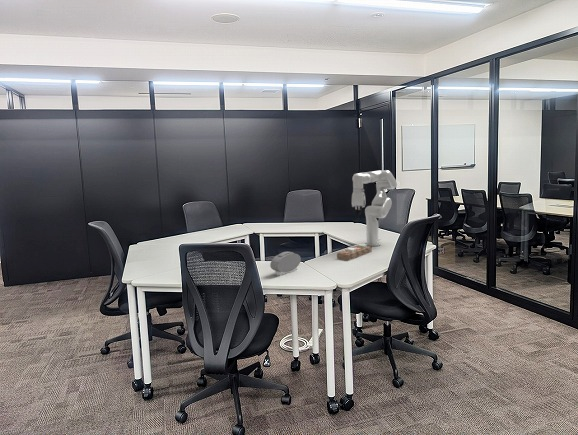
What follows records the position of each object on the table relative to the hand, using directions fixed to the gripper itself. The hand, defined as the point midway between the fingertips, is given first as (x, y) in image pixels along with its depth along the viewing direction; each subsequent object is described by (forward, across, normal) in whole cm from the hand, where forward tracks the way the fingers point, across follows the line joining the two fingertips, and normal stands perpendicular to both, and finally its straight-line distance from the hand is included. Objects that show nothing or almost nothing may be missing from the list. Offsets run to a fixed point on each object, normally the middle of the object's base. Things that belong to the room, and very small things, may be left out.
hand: (358, 214), depth 325 cm
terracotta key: (+26, -7, +15) cm, 31 cm away
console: (+27, -7, +18) cm, 33 cm away
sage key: (+25, -7, +7) cm, 27 cm away
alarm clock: (+27, +6, +81) cm, 86 cm away
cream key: (+25, -7, +23) cm, 34 cm away
